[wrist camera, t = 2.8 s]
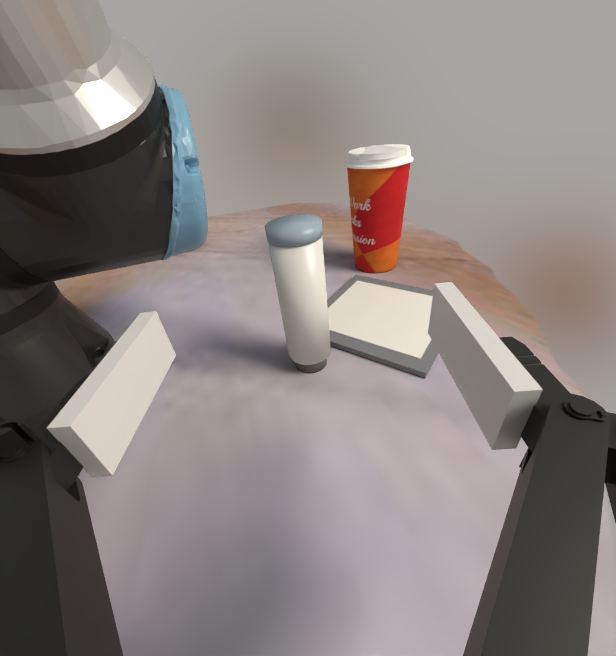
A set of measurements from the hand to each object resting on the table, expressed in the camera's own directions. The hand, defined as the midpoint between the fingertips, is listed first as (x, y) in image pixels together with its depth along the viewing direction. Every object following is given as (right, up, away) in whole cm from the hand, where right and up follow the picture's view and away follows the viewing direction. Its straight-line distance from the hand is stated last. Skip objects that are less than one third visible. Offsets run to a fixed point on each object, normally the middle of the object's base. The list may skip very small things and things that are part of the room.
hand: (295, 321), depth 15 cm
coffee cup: (+11, +9, +31) cm, 34 cm away
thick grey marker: (+1, -4, +15) cm, 16 cm away
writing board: (+9, +1, +20) cm, 22 cm away
